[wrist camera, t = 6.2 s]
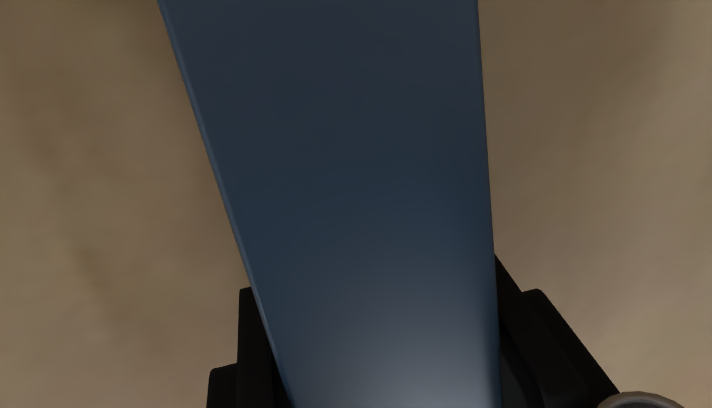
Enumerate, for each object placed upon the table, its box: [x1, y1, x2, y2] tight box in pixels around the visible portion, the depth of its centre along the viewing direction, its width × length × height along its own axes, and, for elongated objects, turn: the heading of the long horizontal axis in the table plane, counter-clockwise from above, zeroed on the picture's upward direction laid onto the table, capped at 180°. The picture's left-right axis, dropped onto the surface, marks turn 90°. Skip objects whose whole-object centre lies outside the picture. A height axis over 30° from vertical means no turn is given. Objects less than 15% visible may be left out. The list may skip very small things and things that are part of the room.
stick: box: [157, 0, 503, 408], centre depth 10 cm, size 3×22×3 cm, turn 10°
